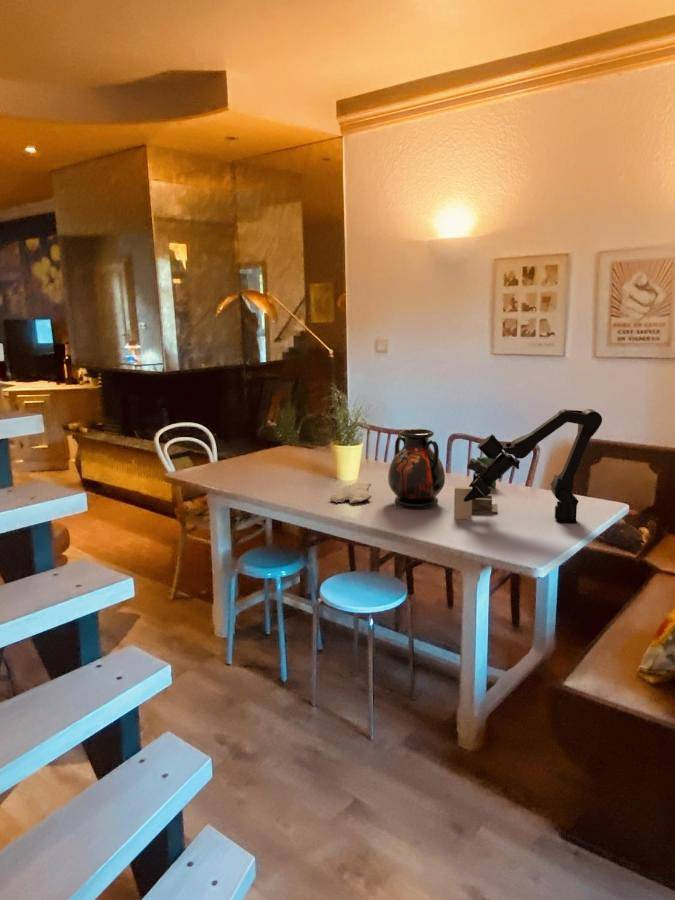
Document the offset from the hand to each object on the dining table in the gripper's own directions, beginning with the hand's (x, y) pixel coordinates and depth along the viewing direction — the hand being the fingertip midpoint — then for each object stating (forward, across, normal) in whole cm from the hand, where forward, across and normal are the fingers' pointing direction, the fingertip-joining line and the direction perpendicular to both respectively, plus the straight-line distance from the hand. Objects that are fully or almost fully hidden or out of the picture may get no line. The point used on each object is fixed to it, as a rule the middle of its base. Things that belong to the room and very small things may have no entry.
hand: (464, 497), depth 234 cm
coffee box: (0, -42, +11) cm, 43 cm away
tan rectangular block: (+6, 0, +5) cm, 8 cm away
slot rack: (+2, -11, +8) cm, 14 cm away
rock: (+36, -19, -24) cm, 47 cm away
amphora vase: (+19, -15, -8) cm, 25 cm away
